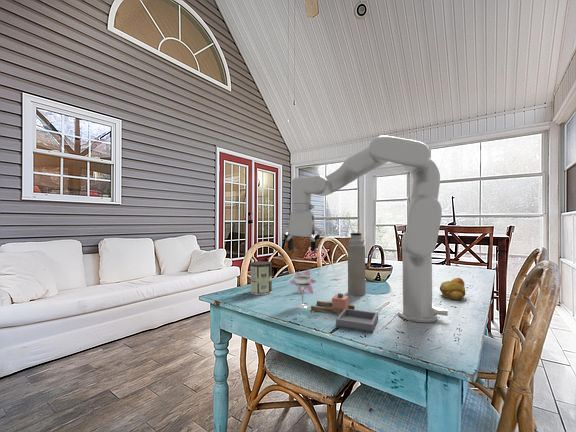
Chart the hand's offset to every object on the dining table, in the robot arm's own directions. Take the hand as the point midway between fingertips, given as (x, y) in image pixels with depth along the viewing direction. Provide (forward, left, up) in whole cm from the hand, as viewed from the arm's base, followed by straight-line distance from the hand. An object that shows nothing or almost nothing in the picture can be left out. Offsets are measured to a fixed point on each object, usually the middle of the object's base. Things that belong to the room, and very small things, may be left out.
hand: (301, 250), depth 114 cm
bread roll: (-56, -37, -22) cm, 70 cm away
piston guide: (-13, +1, -22) cm, 26 cm away
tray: (-24, +10, -22) cm, 34 cm away
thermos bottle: (-16, -27, -22) cm, 39 cm away
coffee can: (+26, -11, -22) cm, 36 cm away
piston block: (-16, 0, -22) cm, 27 cm away
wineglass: (0, 0, -22) cm, 22 cm away
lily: (+8, -20, -22) cm, 31 cm away
